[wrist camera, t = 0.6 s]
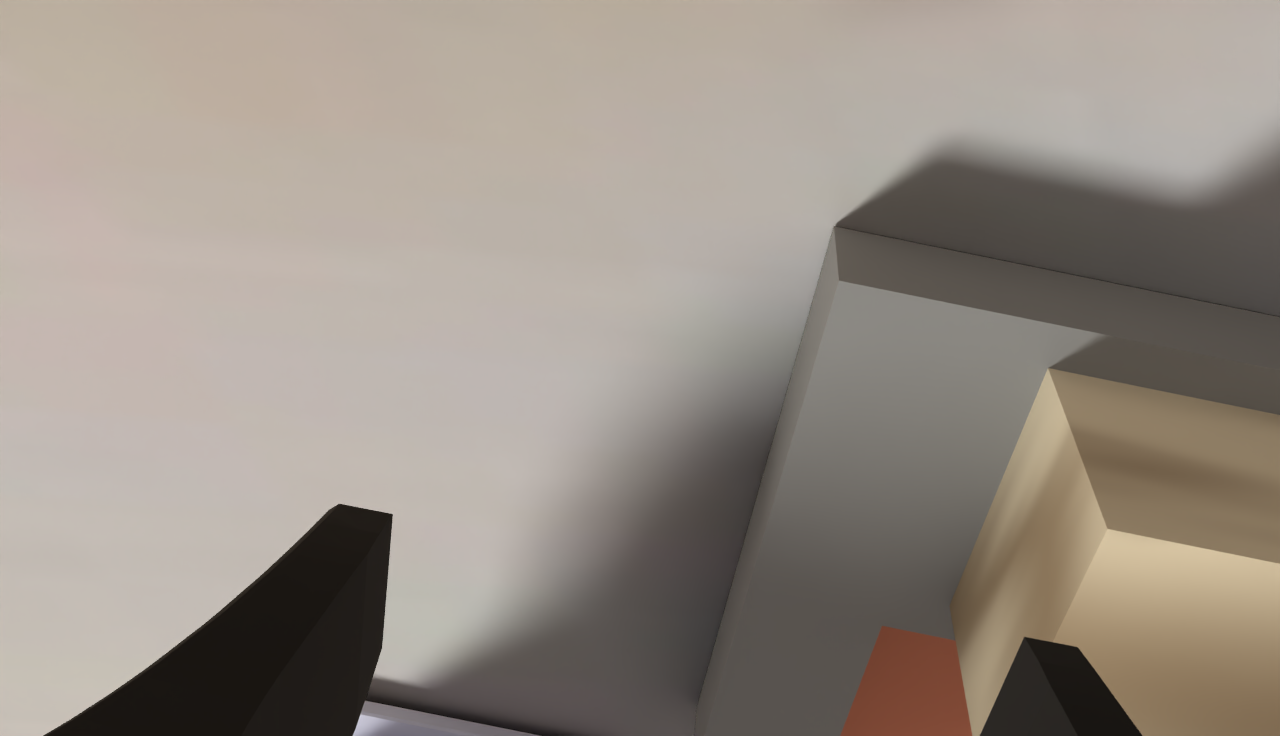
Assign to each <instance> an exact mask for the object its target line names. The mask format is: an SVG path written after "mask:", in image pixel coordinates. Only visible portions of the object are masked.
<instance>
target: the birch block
mask: <svg viewBox="0 0 1280 736" xmlns="http://www.w3.org/2000/svg"><path fill="white" fill-rule="evenodd" d="M950 612H951V618H952V623H953V629H954V635H955V640H956V646H957V652H958V657H959V663H960V669H961V674H962V680H963V686H964V691H965V697H966V703H967V708H968V714H969V720H970V725H971V731H972V736H980V734H981V732H982V730H983V727H984V725H985V723H986V721H987V718H988V716H989V714H990V712H991V710H992V707H993V705H994V703H995V701H996V698H997V696H998V694H999V692H1000V689H1001V687H1002V685H1003V683H1004V681H1005V678H1006V676H1007V674H1008V672H1009V669H1010V667H1011V665H1012V663H1013V661H1014V658H1015V656H1016V654H1017V652H1018V649H1019V647H1020V645H1021V643H1022V640H1023V638H1024V637H1028V638H1034V639H1039V640H1044V641H1049V642H1054V643H1059V644H1065V645H1070V646H1075V647H1078V648H1079V649H1080V651H1081V652H1082V653H1083V655H1084V656H1085V657H1086V659H1087V660H1088V661H1089V663H1090V664H1091V665H1092V667H1093V668H1094V669H1095V671H1096V672H1097V673H1098V675H1099V676H1100V677H1101V679H1102V680H1103V682H1104V683H1105V684H1106V686H1107V687H1108V689H1109V690H1110V691H1111V693H1112V694H1113V695H1114V697H1115V698H1116V700H1117V701H1118V702H1119V704H1120V705H1121V707H1122V708H1123V709H1124V711H1125V712H1126V714H1127V715H1128V716H1129V718H1130V719H1131V720H1132V722H1133V723H1134V725H1135V726H1136V727H1137V729H1138V730H1139V731H1140V733H1141V734H1142V736H1280V415H1277V414H1272V413H1267V412H1262V411H1257V410H1252V409H1247V408H1242V407H1237V406H1233V405H1228V404H1223V403H1218V402H1213V401H1208V400H1203V399H1198V398H1193V397H1188V396H1183V395H1178V394H1173V393H1169V392H1164V391H1159V390H1154V389H1149V388H1144V387H1139V386H1134V385H1129V384H1124V383H1119V382H1114V381H1109V380H1105V379H1100V378H1095V377H1090V376H1085V375H1080V374H1075V373H1070V372H1065V371H1060V370H1055V369H1050V368H1048V369H1047V371H1046V374H1045V376H1044V379H1043V381H1042V384H1041V386H1040V388H1039V391H1038V393H1037V396H1036V398H1035V400H1034V403H1033V405H1032V408H1031V410H1030V413H1029V415H1028V417H1027V420H1026V422H1025V425H1024V427H1023V429H1022V432H1021V434H1020V437H1019V439H1018V442H1017V444H1016V446H1015V449H1014V451H1013V454H1012V456H1011V458H1010V461H1009V463H1008V466H1007V468H1006V470H1005V473H1004V475H1003V478H1002V480H1001V483H1000V485H999V487H998V490H997V492H996V495H995V497H994V499H993V502H992V504H991V507H990V509H989V512H988V514H987V516H986V519H985V521H984V524H983V526H982V528H981V531H980V533H979V536H978V538H977V540H976V543H975V545H974V548H973V550H972V553H971V555H970V557H969V560H968V562H967V565H966V567H965V569H964V572H963V574H962V577H961V579H960V582H959V584H958V586H957V589H956V591H955V594H954V596H953V598H952V601H951V603H950Z"/></svg>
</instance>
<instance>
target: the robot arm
mask: <svg viewBox="0 0 1280 736" xmlns="http://www.w3.org/2000/svg"><path fill="white" fill-rule="evenodd" d="M392 516H393V514H389V513H384V512H379V511H373V510H368V509H363V508H358V507H353V506H348V505H342V504H338V505H337V506H335V507H333V508H332V509H330V510H329V511H328V512H327V513H326V514H325V515H324V516H323V517H322V518H321V519H320V520H319V521H318V522H317V523H316V524H315V525H314V526H313V527H312V528H311V529H310V530H309V531H308V532H307V533H306V534H305V535H304V536H303V537H302V538H301V539H300V540H298V541H297V542H296V543H295V544H294V545H293V546H292V547H291V548H290V549H289V550H288V551H287V552H286V553H285V554H284V555H283V556H282V557H281V558H279V559H278V560H277V561H276V562H275V563H274V564H273V565H272V566H271V567H270V568H269V569H268V570H266V571H265V572H264V573H263V574H262V575H261V576H260V577H259V578H258V579H256V580H255V581H254V582H253V583H252V584H251V585H250V586H248V587H247V588H246V589H245V590H244V591H243V592H241V593H240V594H239V595H238V596H237V597H236V598H234V599H233V600H232V601H231V602H230V603H229V604H228V605H226V606H225V607H224V608H223V609H222V610H221V611H219V612H218V613H217V614H216V615H215V616H213V617H212V618H211V619H210V620H209V621H207V622H206V623H205V624H204V625H202V626H201V627H200V628H199V629H197V630H196V631H195V632H193V633H192V634H191V635H189V636H188V637H187V638H186V639H184V640H183V641H182V642H180V643H179V644H178V645H177V646H175V647H174V648H173V649H171V650H170V651H169V652H167V653H166V654H165V655H164V656H162V657H161V658H160V659H158V660H157V661H156V662H154V663H153V664H152V665H150V666H149V667H148V668H146V669H145V670H144V671H142V672H141V673H139V674H138V675H137V676H135V677H134V678H132V679H131V680H129V681H128V682H127V683H125V684H124V685H122V686H121V687H119V688H118V689H116V690H115V691H114V692H112V693H111V694H109V695H108V696H106V697H105V698H103V699H102V700H100V701H98V702H97V703H95V704H94V705H92V706H91V707H89V708H88V709H86V710H85V711H83V712H82V713H80V714H78V715H77V716H75V717H74V718H72V719H71V720H69V721H67V722H66V723H64V724H62V725H61V726H59V727H57V728H56V729H54V730H52V731H50V732H49V733H47V734H45V735H44V736H540V735H535V734H530V733H525V732H520V731H515V730H510V729H505V728H500V727H495V726H490V725H485V724H480V723H475V722H470V721H465V720H460V719H455V718H450V717H445V716H440V715H435V714H430V713H425V712H420V711H415V710H410V709H405V708H400V707H395V706H390V705H385V704H380V703H375V702H370V701H365V699H366V696H367V693H368V690H369V687H370V684H371V681H372V677H373V674H374V671H375V668H376V665H377V662H378V659H379V655H380V652H381V649H382V641H383V628H384V616H385V604H386V591H387V579H388V566H389V554H390V541H391V529H392ZM980 736H1142V734H1141V733H1140V731H1139V730H1138V729H1137V727H1136V726H1135V725H1134V723H1133V722H1132V720H1131V719H1130V718H1129V716H1128V715H1127V714H1126V712H1125V711H1124V709H1123V708H1122V707H1121V705H1120V704H1119V702H1118V701H1117V700H1116V698H1115V697H1114V695H1113V694H1112V693H1111V691H1110V690H1109V689H1108V687H1107V686H1106V684H1105V683H1104V682H1103V680H1102V679H1101V677H1100V676H1099V675H1098V673H1097V672H1096V671H1095V669H1094V668H1093V667H1092V665H1091V664H1090V663H1089V661H1088V660H1087V659H1086V657H1085V656H1084V655H1083V653H1082V652H1081V651H1080V649H1079V648H1078V647H1075V646H1070V645H1065V644H1059V643H1054V642H1049V641H1044V640H1039V639H1034V638H1028V637H1024V638H1023V640H1022V643H1021V645H1020V647H1019V649H1018V652H1017V654H1016V656H1015V658H1014V661H1013V663H1012V665H1011V667H1010V669H1009V672H1008V674H1007V676H1006V678H1005V681H1004V683H1003V685H1002V687H1001V689H1000V692H999V694H998V696H997V698H996V701H995V703H994V705H993V707H992V710H991V712H990V714H989V716H988V718H987V721H986V723H985V725H984V727H983V730H982V732H981V734H980Z"/></svg>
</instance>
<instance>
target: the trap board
mask: <svg viewBox="0 0 1280 736" xmlns="http://www.w3.org/2000/svg"><path fill="white" fill-rule="evenodd" d="M1048 368H1050V369H1055V370H1060V371H1065V372H1070V373H1075V374H1080V375H1085V376H1090V377H1095V378H1100V379H1105V380H1109V381H1114V382H1119V383H1124V384H1129V385H1134V386H1139V387H1144V388H1149V389H1154V390H1159V391H1164V392H1169V393H1173V394H1178V395H1183V396H1188V397H1193V398H1198V399H1203V400H1208V401H1213V402H1218V403H1223V404H1228V405H1233V406H1237V407H1242V408H1247V409H1252V410H1257V411H1262V412H1267V413H1272V414H1277V415H1280V317H1277V316H1272V315H1267V314H1262V313H1257V312H1252V311H1247V310H1242V309H1237V308H1233V307H1228V306H1223V305H1218V304H1213V303H1208V302H1203V301H1198V300H1193V299H1188V298H1183V297H1179V296H1174V295H1169V294H1164V293H1159V292H1154V291H1149V290H1144V289H1139V288H1134V287H1129V286H1125V285H1120V284H1115V283H1110V282H1105V281H1100V280H1095V279H1090V278H1085V277H1080V276H1075V275H1071V274H1066V273H1061V272H1056V271H1051V270H1046V269H1041V268H1036V267H1031V266H1026V265H1021V264H1017V263H1012V262H1007V261H1002V260H997V259H992V258H987V257H982V256H977V255H972V254H967V253H963V252H958V251H953V250H948V249H943V248H938V247H933V246H928V245H923V244H918V243H913V242H909V241H904V240H899V239H894V238H889V237H884V236H879V235H874V234H869V233H864V232H859V231H855V230H850V229H845V228H840V227H835V226H834V228H833V231H832V235H831V238H830V242H829V245H828V249H827V252H826V256H825V259H824V263H823V266H822V270H821V273H820V277H819V280H818V284H817V287H816V291H815V294H814V298H813V301H812V305H811V308H810V312H809V315H808V319H807V322H806V326H805V329H804V333H803V336H802V340H801V343H800V347H799V350H798V354H797V357H796V361H795V364H794V368H793V371H792V375H791V378H790V382H789V385H788V389H787V392H786V396H785V399H784V403H783V406H782V410H781V413H780V417H779V420H778V424H777V427H776V431H775V434H774V438H773V441H772V445H771V449H770V452H769V456H768V459H767V463H766V466H765V470H764V473H763V477H762V480H761V484H760V487H759V491H758V494H757V498H756V501H755V505H754V508H753V512H752V515H751V519H750V522H749V526H748V529H747V533H746V536H745V540H744V543H743V547H742V550H741V554H740V557H739V561H738V564H737V568H736V571H735V575H734V578H733V582H732V585H731V589H730V592H729V596H728V599H727V603H726V606H725V610H724V613H723V617H722V620H721V624H720V627H719V631H718V634H717V638H716V641H715V645H714V648H713V652H712V655H711V659H710V662H709V666H708V669H707V673H706V676H705V680H704V683H703V687H702V690H701V694H700V697H699V701H698V704H697V708H696V721H695V734H694V736H972V731H971V725H970V720H969V714H968V708H967V703H966V697H965V691H964V686H963V680H962V674H961V669H960V663H959V657H958V652H957V646H956V640H955V635H954V629H953V623H952V618H951V612H950V603H951V601H952V598H953V596H954V594H955V591H956V589H957V586H958V584H959V582H960V579H961V577H962V574H963V572H964V569H965V567H966V565H967V562H968V560H969V557H970V555H971V553H972V550H973V548H974V545H975V543H976V540H977V538H978V536H979V533H980V531H981V528H982V526H983V524H984V521H985V519H986V516H987V514H988V512H989V509H990V507H991V504H992V502H993V499H994V497H995V495H996V492H997V490H998V487H999V485H1000V483H1001V480H1002V478H1003V475H1004V473H1005V470H1006V468H1007V466H1008V463H1009V461H1010V458H1011V456H1012V454H1013V451H1014V449H1015V446H1016V444H1017V442H1018V439H1019V437H1020V434H1021V432H1022V429H1023V427H1024V425H1025V422H1026V420H1027V417H1028V415H1029V413H1030V410H1031V408H1032V405H1033V403H1034V400H1035V398H1036V396H1037V393H1038V391H1039V388H1040V386H1041V384H1042V381H1043V379H1044V376H1045V374H1046V371H1047V369H1048Z"/></svg>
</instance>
